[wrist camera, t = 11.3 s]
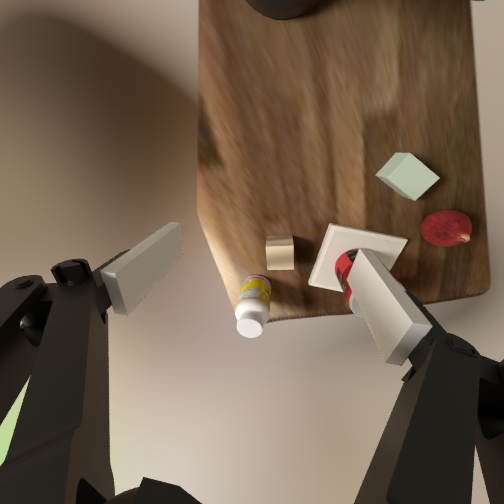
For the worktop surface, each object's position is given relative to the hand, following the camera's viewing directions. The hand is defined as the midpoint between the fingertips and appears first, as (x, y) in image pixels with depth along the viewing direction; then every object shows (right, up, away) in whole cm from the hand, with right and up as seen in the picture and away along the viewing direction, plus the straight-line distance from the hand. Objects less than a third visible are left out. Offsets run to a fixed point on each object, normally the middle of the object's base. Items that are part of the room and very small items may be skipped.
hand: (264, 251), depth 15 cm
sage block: (+23, +13, +18) cm, 32 cm away
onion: (+31, +6, +21) cm, 37 cm away
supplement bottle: (0, -8, +32) cm, 33 cm away
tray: (+20, -2, +26) cm, 32 cm away
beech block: (+5, +1, +26) cm, 27 cm away
